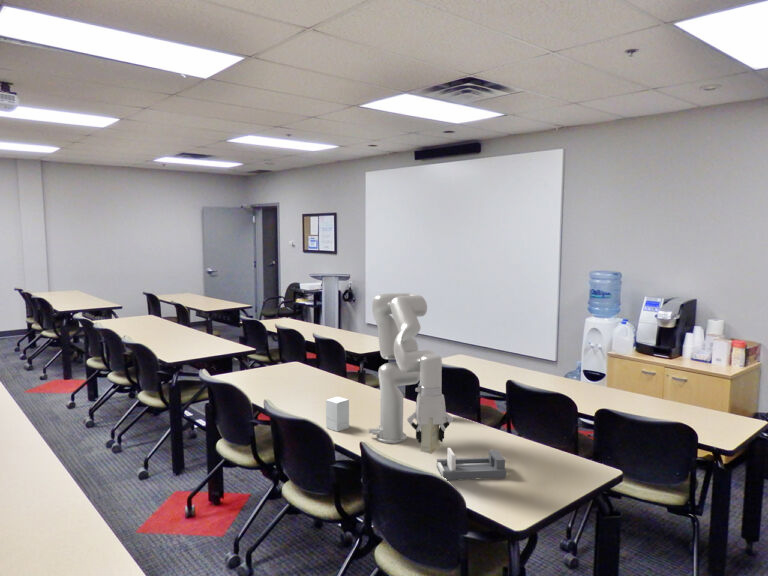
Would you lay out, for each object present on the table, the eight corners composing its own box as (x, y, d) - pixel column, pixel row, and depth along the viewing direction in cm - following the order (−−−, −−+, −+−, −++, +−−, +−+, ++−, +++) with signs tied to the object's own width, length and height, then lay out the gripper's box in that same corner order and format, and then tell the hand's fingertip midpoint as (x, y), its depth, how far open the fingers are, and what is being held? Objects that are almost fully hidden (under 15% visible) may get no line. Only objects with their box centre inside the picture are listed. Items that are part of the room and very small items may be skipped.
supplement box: (349, 427, 225) (349, 399, 224) (336, 432, 219) (336, 403, 218) (338, 423, 230) (338, 395, 229) (325, 427, 224) (325, 399, 223)
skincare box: (431, 454, 175) (431, 419, 174) (419, 451, 178) (420, 417, 177) (439, 448, 180) (440, 414, 180) (428, 445, 183) (428, 412, 182)
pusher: (452, 474, 177) (452, 457, 176) (447, 464, 185) (447, 447, 184) (494, 472, 179) (495, 455, 178) (487, 463, 187) (488, 446, 186)
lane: (443, 480, 175) (443, 463, 175) (436, 466, 186) (437, 450, 186) (505, 478, 178) (506, 461, 177) (495, 464, 189) (496, 448, 188)
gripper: (407, 394, 173) (406, 446, 174) (457, 393, 175) (457, 444, 176) (404, 388, 180) (403, 438, 182) (452, 387, 182) (451, 436, 183)
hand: (430, 440), depth 179 cm, fingers closed on skincare box, 7 cm apart
